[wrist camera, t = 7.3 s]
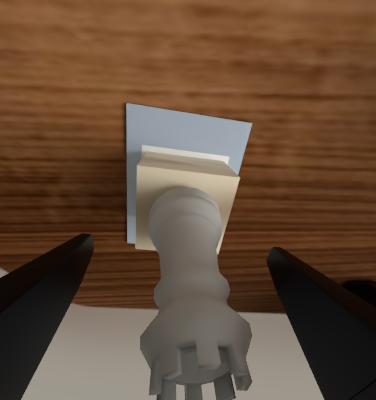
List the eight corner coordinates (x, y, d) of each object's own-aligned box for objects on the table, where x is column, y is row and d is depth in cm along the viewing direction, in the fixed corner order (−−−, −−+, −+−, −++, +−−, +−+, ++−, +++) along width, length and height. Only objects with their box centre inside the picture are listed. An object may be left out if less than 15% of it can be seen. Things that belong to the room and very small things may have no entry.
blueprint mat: (216, 247, 18) (217, 249, 18) (127, 241, 17) (127, 243, 17) (251, 123, 13) (252, 123, 13) (127, 103, 12) (126, 102, 12)
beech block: (208, 223, 17) (218, 254, 13) (144, 218, 16) (135, 249, 12) (223, 161, 14) (240, 177, 11) (146, 151, 13) (136, 165, 10)
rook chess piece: (171, 252, 13) (167, 431, 6) (135, 204, 11) (59, 382, 4) (228, 226, 12) (307, 393, 5) (200, 170, 10) (263, 309, 3)
